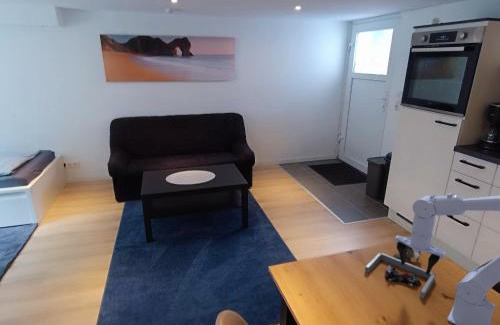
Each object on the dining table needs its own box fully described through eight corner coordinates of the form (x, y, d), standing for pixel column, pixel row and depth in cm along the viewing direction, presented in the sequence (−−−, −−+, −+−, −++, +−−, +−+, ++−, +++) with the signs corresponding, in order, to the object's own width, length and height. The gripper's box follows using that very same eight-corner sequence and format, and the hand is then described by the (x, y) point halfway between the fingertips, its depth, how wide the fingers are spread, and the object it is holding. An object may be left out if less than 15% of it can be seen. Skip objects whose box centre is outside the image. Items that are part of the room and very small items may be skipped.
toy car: (384, 271, 115) (386, 261, 114) (420, 279, 110) (422, 270, 109) (384, 281, 110) (385, 271, 109) (421, 290, 105) (423, 280, 104)
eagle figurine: (417, 251, 124) (394, 243, 127) (424, 244, 119) (399, 236, 122) (415, 268, 120) (391, 260, 123) (421, 262, 115) (396, 253, 118)
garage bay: (434, 279, 109) (435, 274, 109) (423, 298, 101) (424, 292, 100) (379, 257, 123) (379, 251, 122) (364, 272, 114) (365, 266, 113)
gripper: (393, 229, 99) (388, 264, 103) (444, 246, 90) (436, 284, 94) (401, 221, 104) (396, 255, 108) (450, 236, 94) (442, 273, 98)
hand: (415, 268), depth 101 cm, fingers open, 7 cm apart
